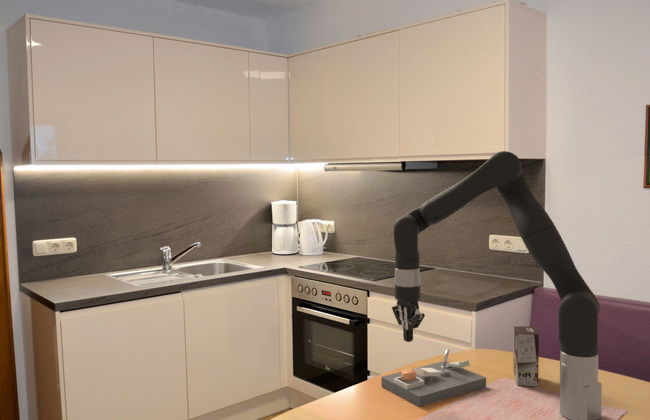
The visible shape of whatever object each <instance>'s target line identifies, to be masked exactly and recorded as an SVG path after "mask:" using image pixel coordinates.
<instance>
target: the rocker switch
mask: <svg viewBox="0 0 650 420" xmlns="http://www.w3.org/2000/svg"><path fill="white" fill-rule="evenodd" d="M413 369H414V370H415V371H416V374H418V375H420V376H423V377H426V376H441V372H440V371H438V370H436V369H433V368H418V367H414V368H413Z"/></svg>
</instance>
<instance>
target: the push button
mask: <svg viewBox="0 0 650 420" xmlns="http://www.w3.org/2000/svg"><path fill="white" fill-rule="evenodd" d="M413 369H414V368H405V369H402V370H401V371H400V372H401V379H402V380H405V381H413V380H416V371H415V370H413Z"/></svg>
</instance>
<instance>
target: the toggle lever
mask: <svg viewBox="0 0 650 420" xmlns="http://www.w3.org/2000/svg"><path fill="white" fill-rule="evenodd" d="M449 355H450V349H449V348H446V349H445V352H444V356H443V360H442V361H443V364H442V367H441V370H443V371H444V370H445V369H446V368H445V367H446V363H447V362H448V357H449Z"/></svg>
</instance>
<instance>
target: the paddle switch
mask: <svg viewBox="0 0 650 420" xmlns="http://www.w3.org/2000/svg"><path fill="white" fill-rule="evenodd" d="M448 366H451V367H459V368H465V367H469V366H470V360H468V359H466V360H463V361H452V362H450V363H448Z"/></svg>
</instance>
